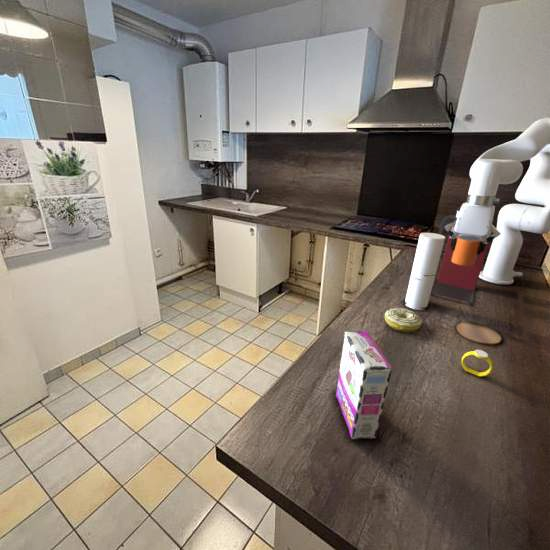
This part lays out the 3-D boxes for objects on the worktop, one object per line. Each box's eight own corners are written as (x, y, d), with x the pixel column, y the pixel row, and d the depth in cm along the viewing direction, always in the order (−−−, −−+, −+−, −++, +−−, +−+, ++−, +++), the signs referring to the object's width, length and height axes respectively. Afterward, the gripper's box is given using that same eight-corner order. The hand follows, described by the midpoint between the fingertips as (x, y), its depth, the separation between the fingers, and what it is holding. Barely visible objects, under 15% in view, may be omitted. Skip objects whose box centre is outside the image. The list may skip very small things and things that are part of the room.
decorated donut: (425, 324, 90) (428, 313, 89) (413, 339, 83) (416, 327, 81) (392, 312, 97) (394, 302, 95) (378, 324, 89) (380, 314, 88)
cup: (452, 257, 109) (458, 234, 106) (474, 261, 105) (482, 237, 102) (449, 263, 104) (456, 238, 100) (473, 267, 100) (481, 242, 96)
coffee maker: (438, 280, 122) (452, 224, 113) (474, 288, 115) (493, 229, 106) (430, 295, 109) (447, 232, 100) (471, 305, 102) (492, 239, 93)
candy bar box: (378, 439, 54) (394, 368, 47) (351, 440, 53) (364, 369, 47) (357, 392, 64) (368, 329, 57) (335, 394, 63) (343, 330, 57)
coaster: (484, 323, 91) (484, 322, 91) (510, 345, 81) (510, 343, 81) (449, 323, 91) (449, 321, 91) (470, 344, 81) (471, 343, 81)
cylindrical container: (429, 311, 98) (448, 239, 88) (407, 308, 99) (423, 237, 89) (423, 301, 104) (440, 233, 95) (402, 299, 106) (417, 232, 96)
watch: (458, 370, 71) (464, 350, 69) (459, 364, 73) (466, 345, 71) (487, 381, 68) (495, 361, 65) (488, 375, 70) (496, 355, 68)
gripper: (512, 201, 94) (495, 253, 101) (451, 196, 103) (439, 244, 110) (513, 205, 88) (495, 259, 96) (448, 199, 98) (436, 249, 105)
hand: (465, 251), depth 103 cm, fingers closed on cup, 7 cm apart
